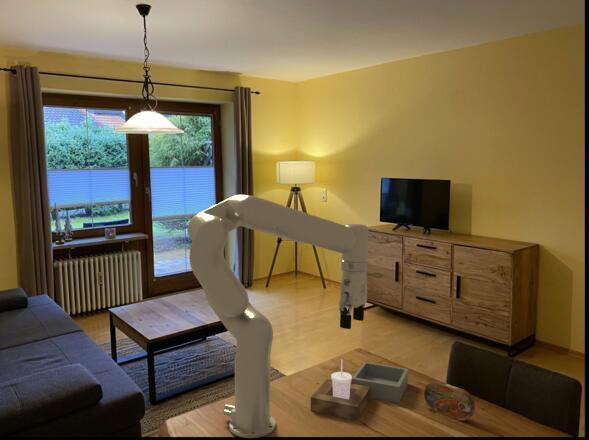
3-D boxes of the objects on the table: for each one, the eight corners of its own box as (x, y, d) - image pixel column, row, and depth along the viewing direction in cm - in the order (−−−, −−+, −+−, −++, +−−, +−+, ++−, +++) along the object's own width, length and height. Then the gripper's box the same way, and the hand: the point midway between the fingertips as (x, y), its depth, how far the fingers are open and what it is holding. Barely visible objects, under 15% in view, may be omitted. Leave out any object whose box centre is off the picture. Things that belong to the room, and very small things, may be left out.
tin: (423, 406, 142) (424, 378, 141) (429, 403, 144) (430, 376, 143) (470, 426, 130) (471, 396, 130) (476, 422, 133) (477, 393, 132)
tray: (351, 393, 149) (351, 378, 149) (363, 375, 163) (364, 361, 163) (398, 402, 143) (399, 387, 143) (408, 383, 157) (408, 369, 157)
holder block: (310, 410, 138) (310, 397, 138) (326, 391, 151) (327, 378, 151) (357, 420, 133) (357, 406, 132) (370, 399, 145) (370, 387, 145)
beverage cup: (326, 405, 141) (327, 359, 140) (338, 398, 146) (339, 354, 145) (343, 412, 138) (344, 365, 136) (355, 404, 142) (356, 359, 141)
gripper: (354, 272, 129) (352, 334, 130) (376, 263, 144) (374, 319, 145) (329, 269, 133) (327, 329, 134) (353, 261, 148) (351, 315, 149)
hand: (352, 324), depth 140 cm, fingers open, 9 cm apart
